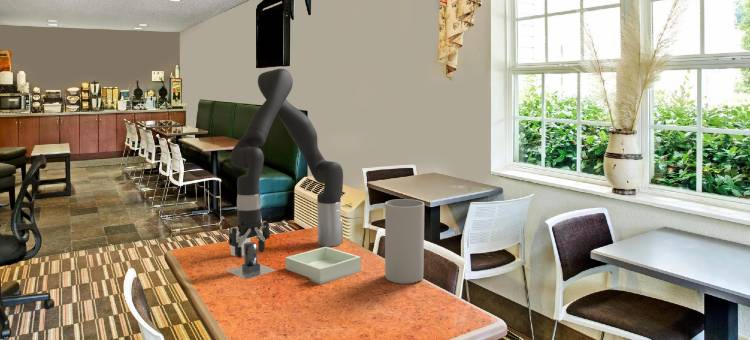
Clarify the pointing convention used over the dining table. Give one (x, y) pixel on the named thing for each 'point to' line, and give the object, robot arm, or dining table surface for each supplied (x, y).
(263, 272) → the stud plate
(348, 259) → the sage bin
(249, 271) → the dark grey stamp
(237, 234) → the white cup
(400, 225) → the cylinder vase
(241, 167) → the robot arm
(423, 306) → the dining table surface
